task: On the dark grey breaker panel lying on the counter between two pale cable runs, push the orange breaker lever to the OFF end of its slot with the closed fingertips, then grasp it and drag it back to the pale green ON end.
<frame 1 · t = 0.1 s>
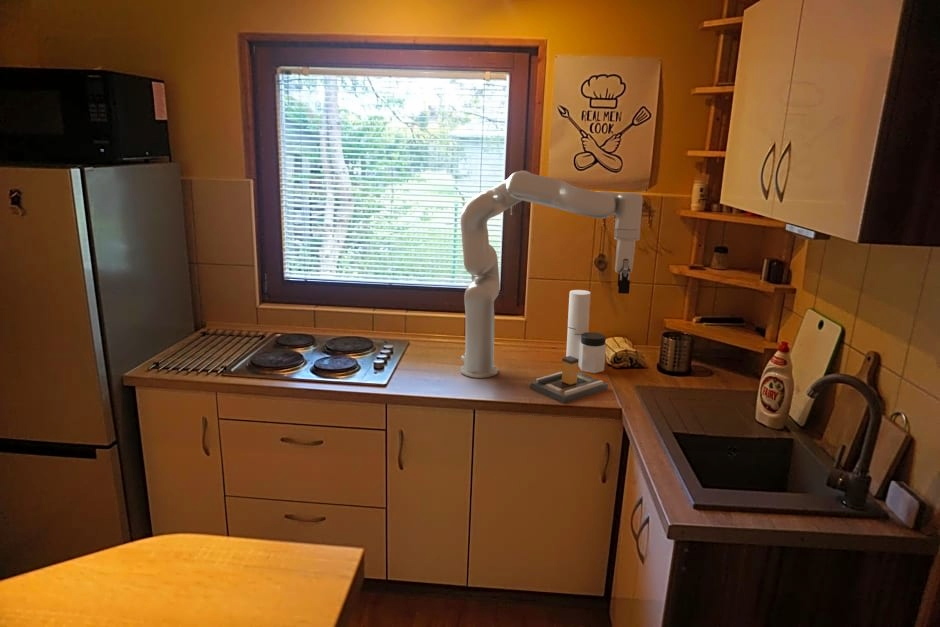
hand: (623, 289, 194), 31 cm above the countertop, tool pointing down, fingers open, 9 cm apart
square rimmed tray: (569, 381, 197), on the panel, point 2 cm above the countertop
panel: (568, 388, 198), on the countertop
cylindrical container: (576, 361, 224), on the countertop
jar: (591, 369, 216), on the countertop
breaker lever: (569, 370, 196), point 6 cm above the countertop, slide at 0.0 cm
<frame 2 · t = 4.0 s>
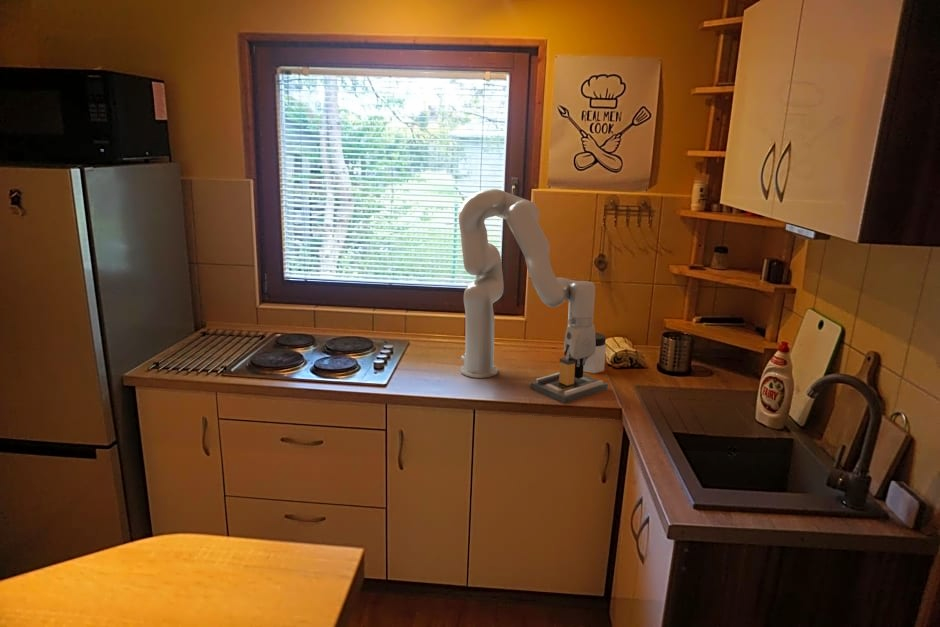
hand: (577, 376, 199), 3 cm above the countertop, tool pointing down, fingers closed
breaker lever: (567, 371, 195), point 6 cm above the countertop, slide at -1.2 cm, touching gripper
everything else where it was.
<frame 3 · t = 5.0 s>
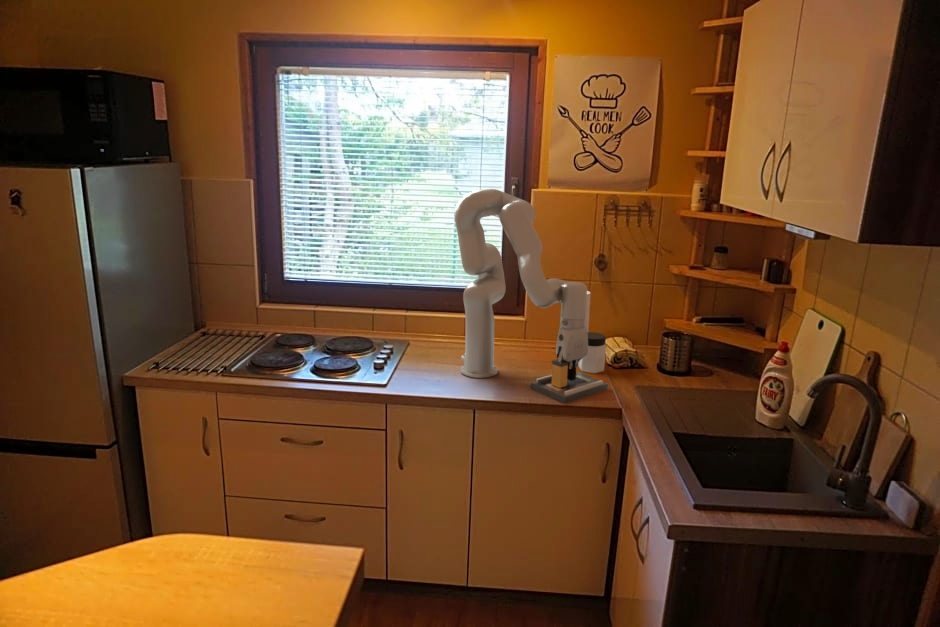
hand: (570, 378, 197), 3 cm above the countertop, tool pointing down, fingers closed
breaker lever: (559, 373, 194), point 6 cm above the countertop, slide at -4.4 cm, touching gripper
everything else where it was.
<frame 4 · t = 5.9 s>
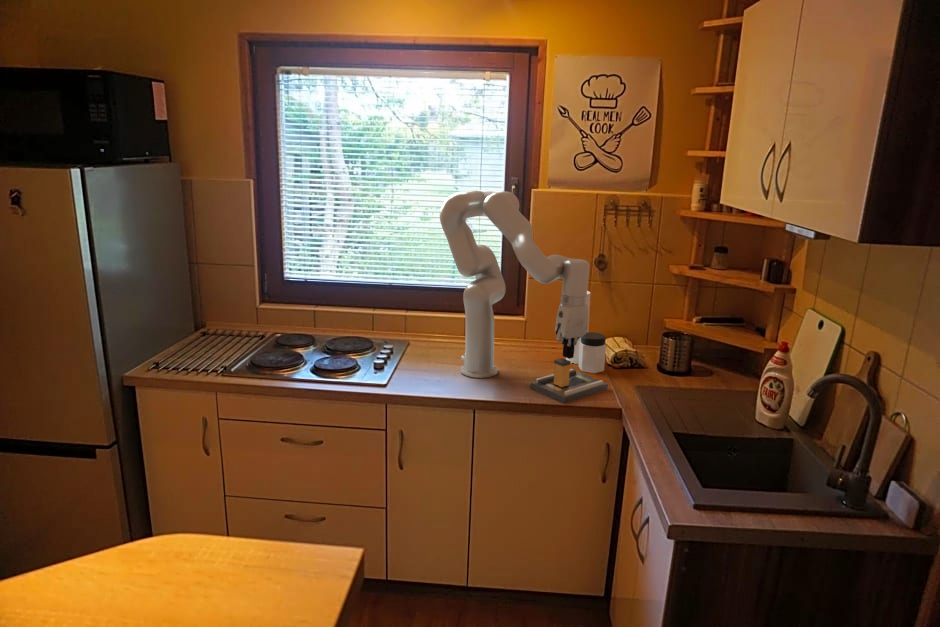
hand: (567, 356, 196), 10 cm above the countertop, tool pointing down, fingers closed
breaker lever: (561, 372, 194), point 6 cm above the countertop, slide at -3.5 cm
everything else where it was.
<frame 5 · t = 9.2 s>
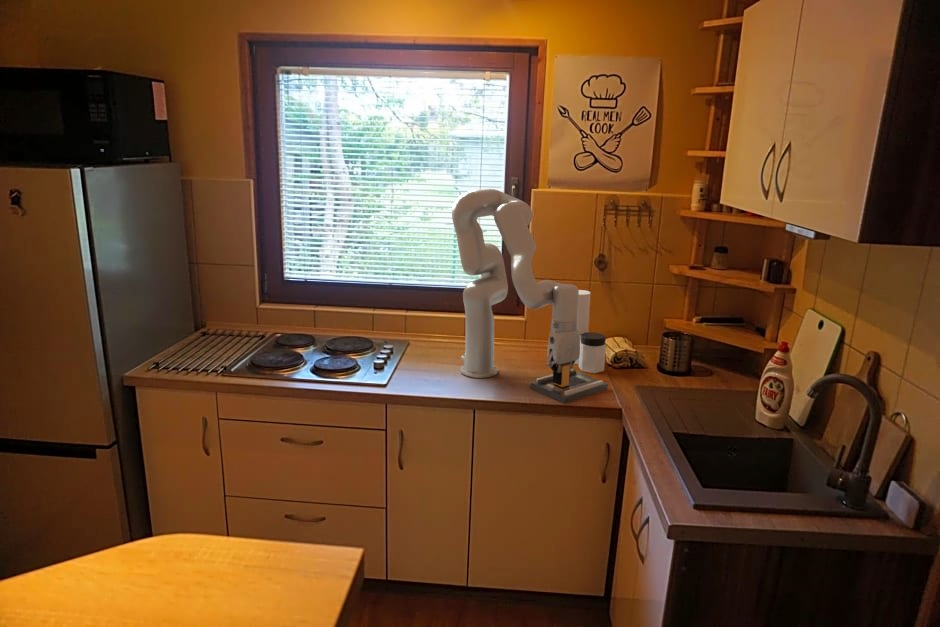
hand: (561, 381, 195), 3 cm above the countertop, tool pointing down, fingers closed on breaker lever, 3 cm apart
breaker lever: (561, 372, 194), point 6 cm above the countertop, slide at -3.5 cm, touching gripper
everything else where it was.
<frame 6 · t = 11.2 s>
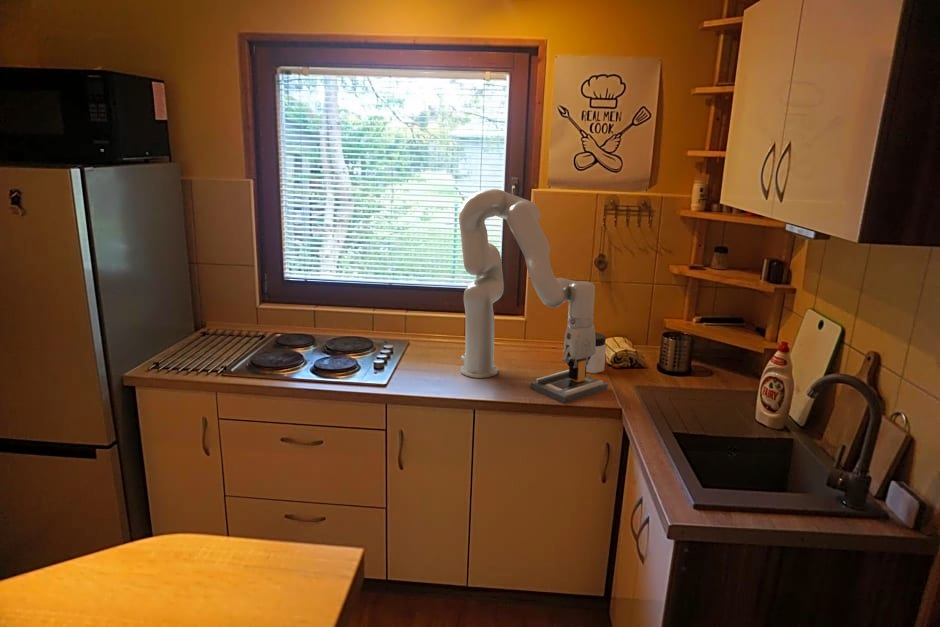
hand: (577, 377, 199), 3 cm above the countertop, tool pointing down, fingers closed on breaker lever, 3 cm apart
breaker lever: (577, 368, 198), point 6 cm above the countertop, slide at 3.5 cm, touching gripper
everything else where it was.
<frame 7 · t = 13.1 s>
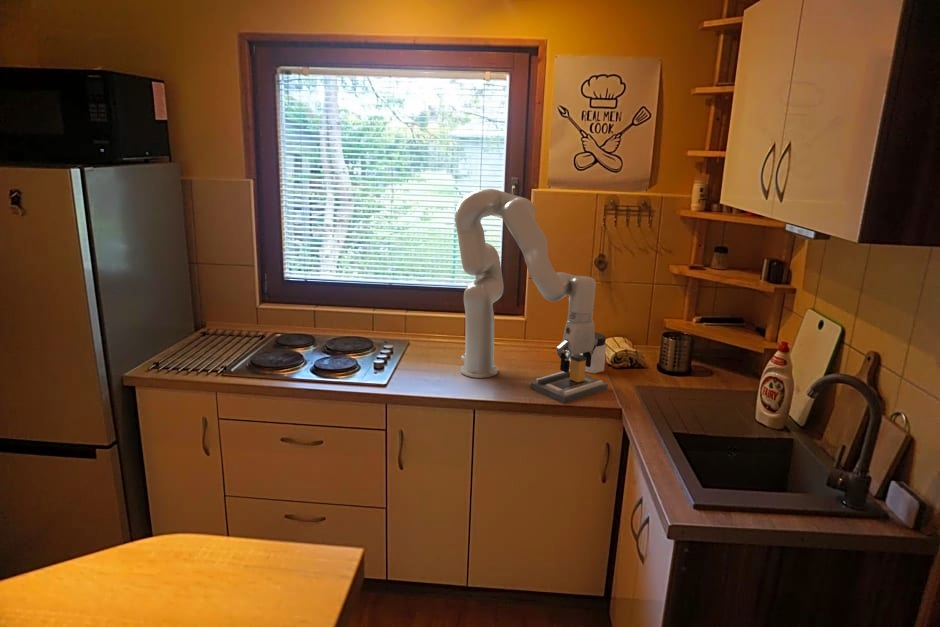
hand: (575, 368, 199), 6 cm above the countertop, tool pointing down, fingers open, 9 cm apart
breaker lever: (577, 368, 198), point 6 cm above the countertop, slide at 3.5 cm
everything else where it was.
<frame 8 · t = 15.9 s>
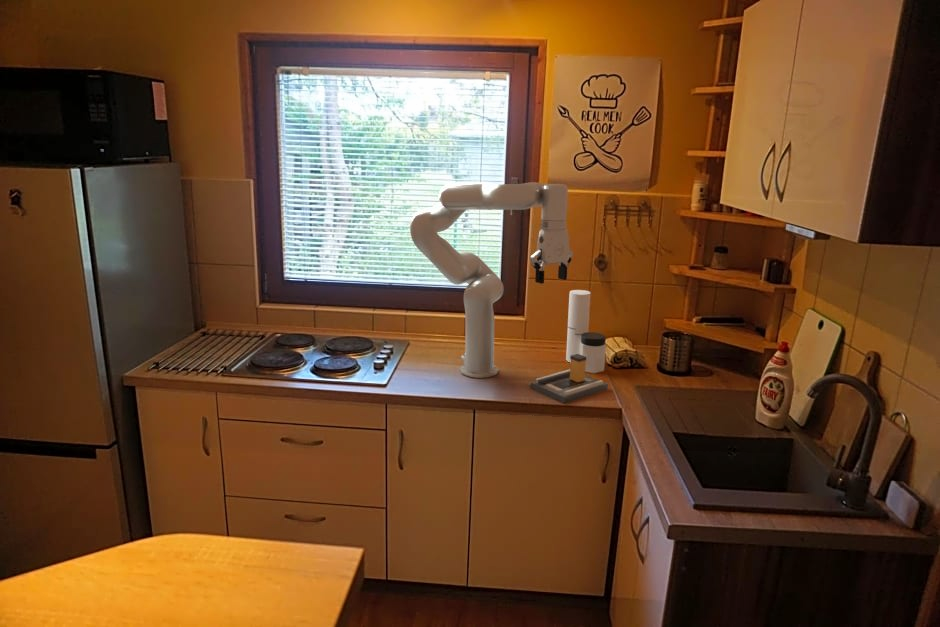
hand: (551, 281, 195), 33 cm above the countertop, tool pointing down, fingers open, 9 cm apart
nothing on the countertop moved.
at the end: breaker lever slide at 3.5 cm; the gripper is holding nothing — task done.
